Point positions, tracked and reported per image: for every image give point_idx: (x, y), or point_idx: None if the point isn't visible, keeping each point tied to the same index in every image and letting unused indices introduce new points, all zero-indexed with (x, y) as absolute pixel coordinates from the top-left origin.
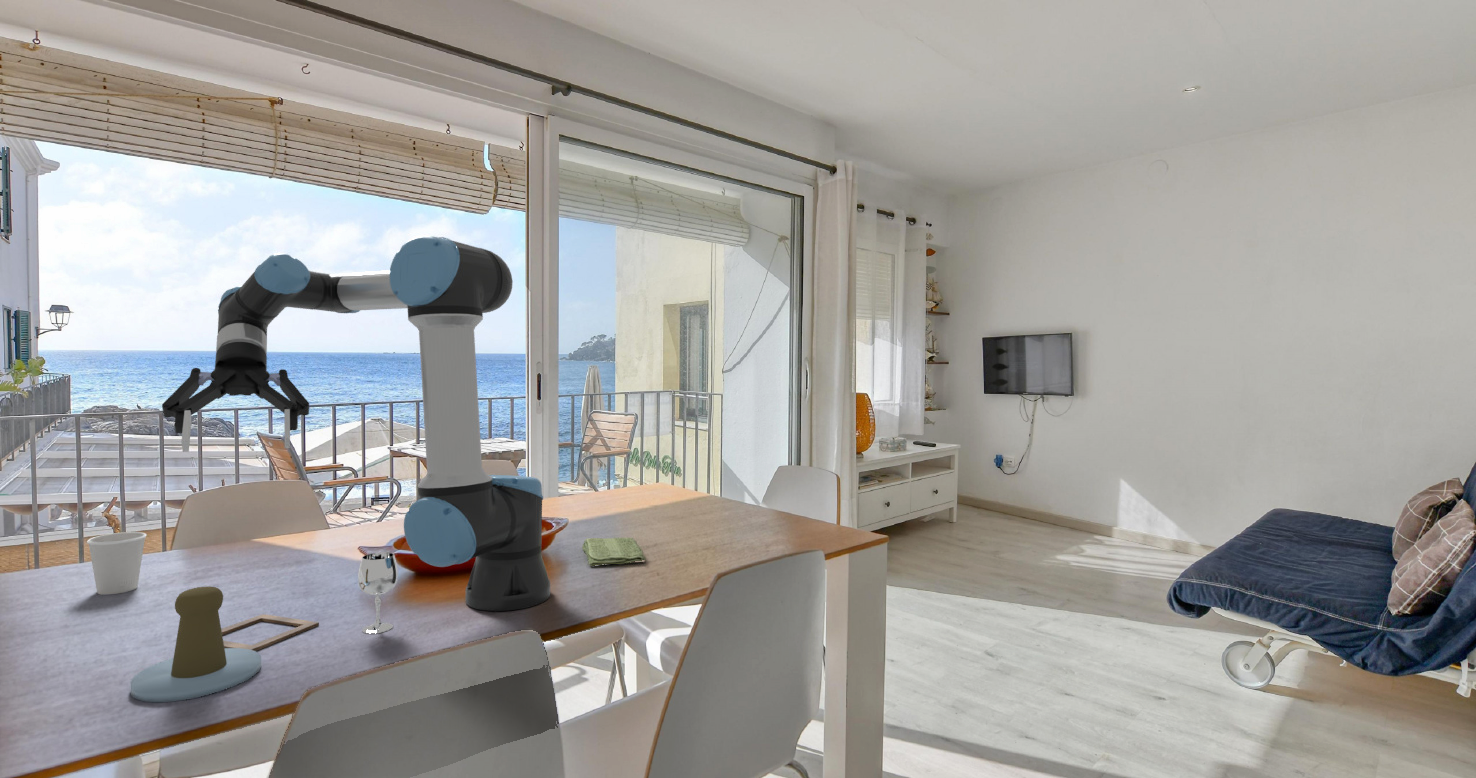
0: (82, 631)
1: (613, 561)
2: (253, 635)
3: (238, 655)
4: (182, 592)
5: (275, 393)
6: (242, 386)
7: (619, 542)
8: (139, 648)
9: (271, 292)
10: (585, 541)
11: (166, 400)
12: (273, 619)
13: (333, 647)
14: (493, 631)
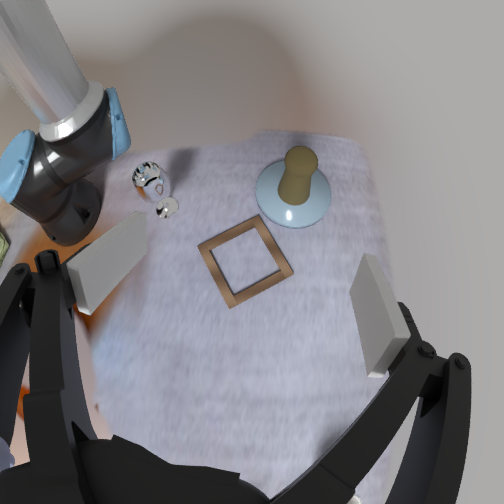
0: (359, 370)
1: (2, 234)
2: (247, 259)
3: (268, 198)
4: (314, 159)
5: (43, 339)
6: (155, 460)
7: None
8: (326, 289)
9: None
10: None
11: (470, 381)
12: (225, 283)
13: (206, 189)
14: (122, 156)
